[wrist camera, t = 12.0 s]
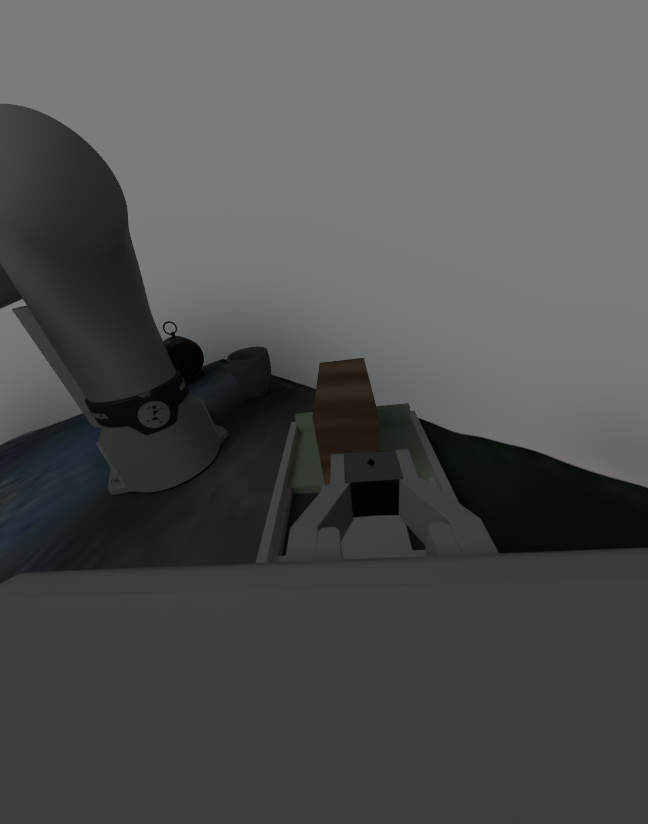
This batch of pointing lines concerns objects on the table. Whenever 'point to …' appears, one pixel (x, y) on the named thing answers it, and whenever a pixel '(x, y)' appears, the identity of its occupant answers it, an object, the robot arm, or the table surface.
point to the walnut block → (344, 412)
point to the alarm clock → (184, 354)
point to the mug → (251, 370)
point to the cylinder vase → (54, 360)
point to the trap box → (306, 481)
